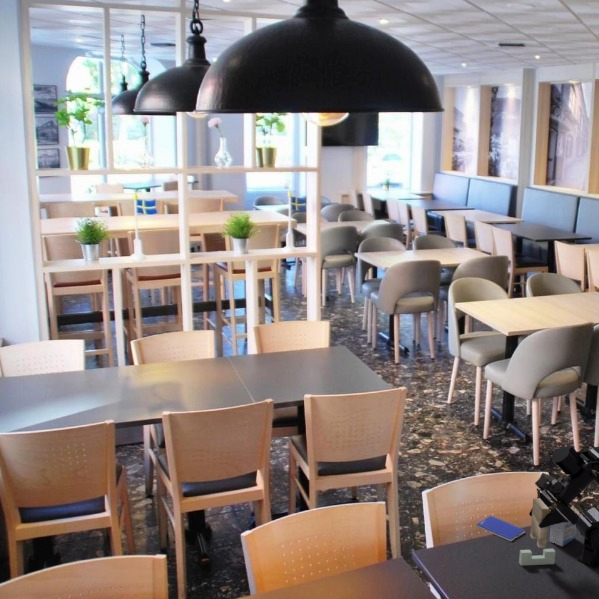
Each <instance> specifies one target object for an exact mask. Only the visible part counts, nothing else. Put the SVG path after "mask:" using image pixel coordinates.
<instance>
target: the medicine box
mask: <svg viewBox="0 0 599 599" xmlns="http://www.w3.org/2000/svg"><path fill="white" fill-rule="evenodd" d="M574 512H575V511H574ZM575 513H576V514H577V515H578V512H575ZM568 521H569V520H568ZM549 533H550V534H549V542H550V543H553V544H554V543H555V545H557V546H559V547H565V546H566V545H567V544H569V543H570V542H572V541H573V540H575V539H576V535H577V534H576V533H577V528H576V524H575V525H573V524H572V523H571V522H570V521H569V522H568V523H567V522H564V523H559V524H555V525H551V526H550V532H549Z"/></svg>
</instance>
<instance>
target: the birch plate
mask: <svg viewBox="0 0 599 599" xmlns="http://www.w3.org/2000/svg"><path fill="white" fill-rule="evenodd" d="M531 509H532V517H531V519H530V520H531V522H530V523H531V524H530V534H529V537H530V538H531V540H536V546H537V548H539V549H540V548H541V549H547V548H546V547H547V537H548V536H547V535H548V527H549V526H547V527H544V528H540V527H539V524H540V523H541V521H542V520H543V519H544V518H545V517H546V516H547V515H548V514H549V513H550V507H549V508H548V507H547V506H546V505H545V504H544V502H543V501H542V500H541V499H540V498H537V497H536V498H532V508H531Z"/></svg>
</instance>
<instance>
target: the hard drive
mask: <svg viewBox="0 0 599 599" xmlns="http://www.w3.org/2000/svg"><path fill="white" fill-rule="evenodd" d="M476 528H479V529H481V530H483V531H486V532H487V533H491V534H492V535H495V536H497V537H499V538H502V539H505V540H506V541H509V542H512V541H514V540H515V538H516V539H517V538H518V537H520V536H522V535H524V534H525V533H526V530H525V529H523V528H520V527H518V526H516V525H515V524H511V523H510V522H507V521H504V520H503V519H500V518H498V517H495V516H493V515H490V516H487V517H486V518H484V519H482V520H480V521H479V522H477V524H476Z"/></svg>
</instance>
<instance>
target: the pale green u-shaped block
mask: <svg viewBox="0 0 599 599" xmlns="http://www.w3.org/2000/svg"><path fill="white" fill-rule="evenodd" d="M542 549H543V550H542V555H541V554H540V555H533V552H532V550H531V549H520V550H519V558H518V563H519V565H520V566H538V565H539V566H542V565H543V566H544V565H555V563H556V562H555V560H556V550H555V549H554V548H542Z"/></svg>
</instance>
